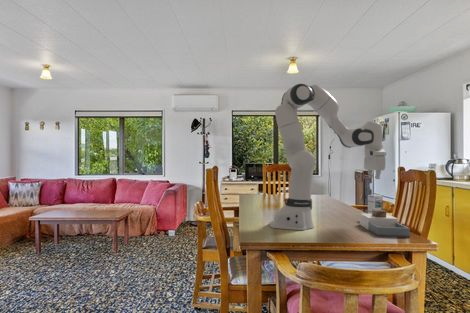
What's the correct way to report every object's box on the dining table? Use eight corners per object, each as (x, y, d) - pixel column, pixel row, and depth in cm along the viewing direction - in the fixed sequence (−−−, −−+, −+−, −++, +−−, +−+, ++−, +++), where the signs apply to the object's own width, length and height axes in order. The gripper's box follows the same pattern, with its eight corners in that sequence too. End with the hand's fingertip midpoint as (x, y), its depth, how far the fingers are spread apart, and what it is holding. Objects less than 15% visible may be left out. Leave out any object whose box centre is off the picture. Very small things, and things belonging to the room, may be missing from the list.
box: (377, 236, 142) (378, 227, 142) (368, 230, 154) (368, 221, 154) (409, 237, 141) (409, 228, 141) (397, 230, 153) (397, 222, 153)
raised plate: (368, 230, 154) (368, 217, 154) (360, 224, 166) (360, 213, 166) (397, 230, 153) (397, 218, 153) (387, 225, 165) (387, 214, 165)
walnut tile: (375, 217, 156) (376, 211, 156) (372, 215, 161) (372, 209, 161) (386, 217, 156) (386, 211, 156) (382, 215, 161) (382, 209, 161)
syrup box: (374, 221, 176) (374, 195, 176) (367, 219, 182) (367, 194, 182) (382, 220, 177) (383, 195, 177) (375, 218, 183) (375, 194, 183)
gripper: (360, 152, 177) (361, 177, 177) (374, 152, 157) (375, 179, 157) (372, 152, 177) (372, 177, 177) (387, 152, 156) (388, 179, 156)
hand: (373, 178), depth 166 cm, fingers open, 8 cm apart
